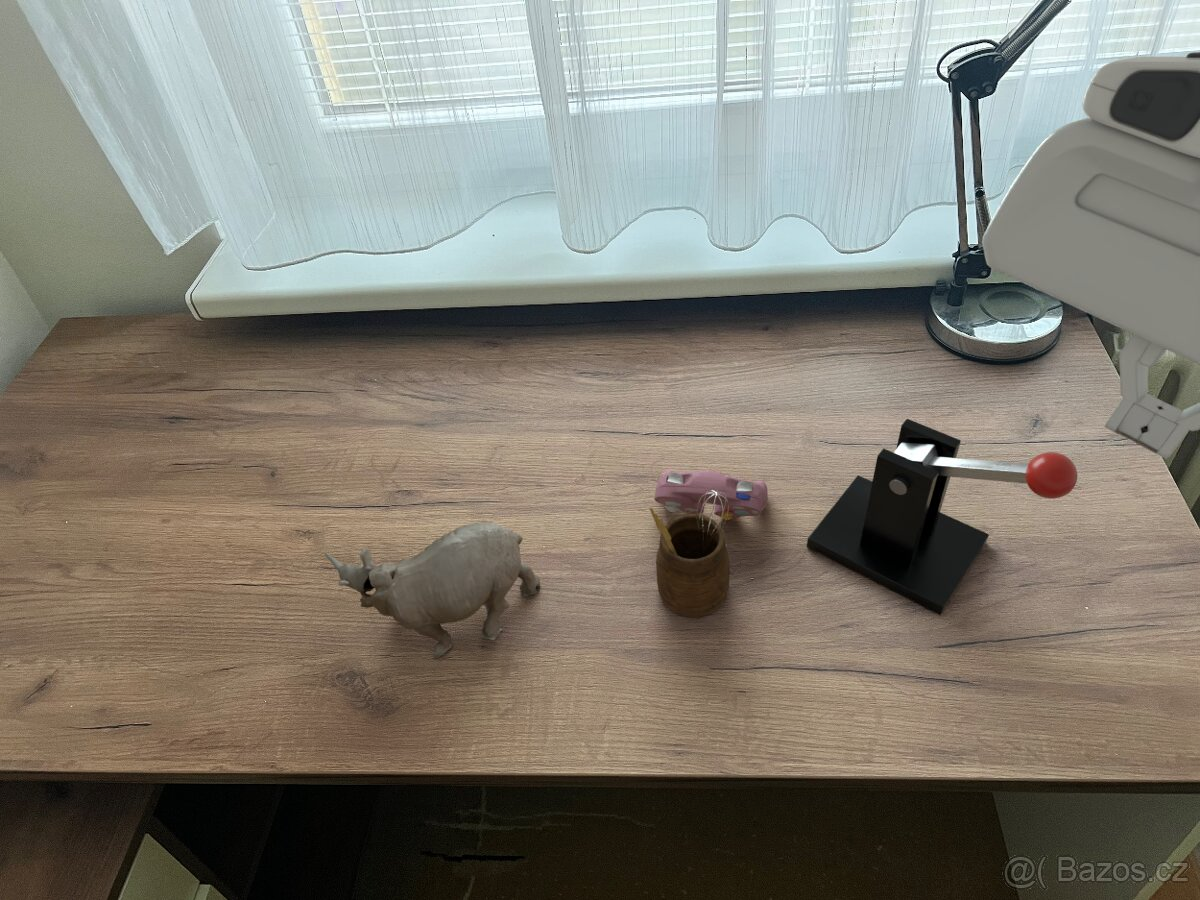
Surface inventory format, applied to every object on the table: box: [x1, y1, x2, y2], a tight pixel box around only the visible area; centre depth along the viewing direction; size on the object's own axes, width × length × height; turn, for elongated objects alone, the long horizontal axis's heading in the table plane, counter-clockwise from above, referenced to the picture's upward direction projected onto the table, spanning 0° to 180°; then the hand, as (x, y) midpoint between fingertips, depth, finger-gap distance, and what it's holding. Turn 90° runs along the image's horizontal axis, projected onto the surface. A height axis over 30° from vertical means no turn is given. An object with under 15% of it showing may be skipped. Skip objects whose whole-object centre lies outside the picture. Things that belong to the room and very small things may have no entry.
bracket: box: [806, 418, 989, 616], centre depth 71 cm, size 12×9×12 cm
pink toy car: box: [654, 469, 769, 521], centre depth 77 cm, size 10×5×7 cm
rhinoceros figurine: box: [324, 522, 541, 659], centre depth 70 cm, size 8×14×15 cm
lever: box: [893, 443, 1078, 500], centre depth 64 cm, size 13×3×3 cm, turn 49°
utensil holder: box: [648, 490, 731, 618], centre depth 69 cm, size 6×6×12 cm
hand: (1138, 439), depth 40 cm, fingers closed
